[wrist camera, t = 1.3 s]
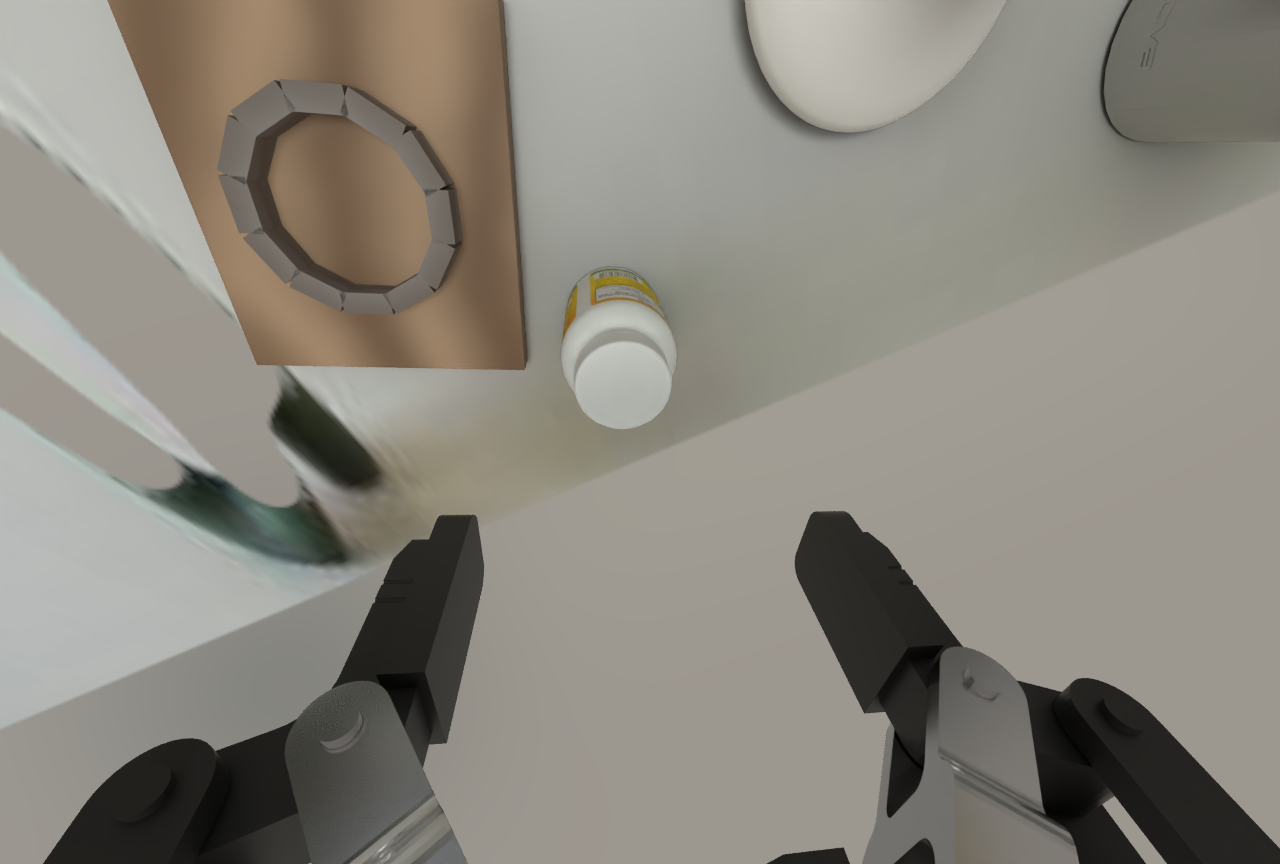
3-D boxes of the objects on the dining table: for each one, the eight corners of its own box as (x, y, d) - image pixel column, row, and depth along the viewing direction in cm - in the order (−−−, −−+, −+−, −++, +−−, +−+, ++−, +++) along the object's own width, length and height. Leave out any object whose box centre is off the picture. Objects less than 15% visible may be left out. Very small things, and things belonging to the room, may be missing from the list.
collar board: (503, 1, 19) (490, -22, 16) (527, 359, 27) (521, 381, 25) (120, -45, 17) (39, -78, 14) (273, 354, 25) (239, 376, 23)
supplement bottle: (623, 245, 24) (643, 293, 16) (674, 322, 27) (713, 398, 19) (545, 303, 26) (528, 375, 18) (602, 372, 28) (610, 463, 20)
